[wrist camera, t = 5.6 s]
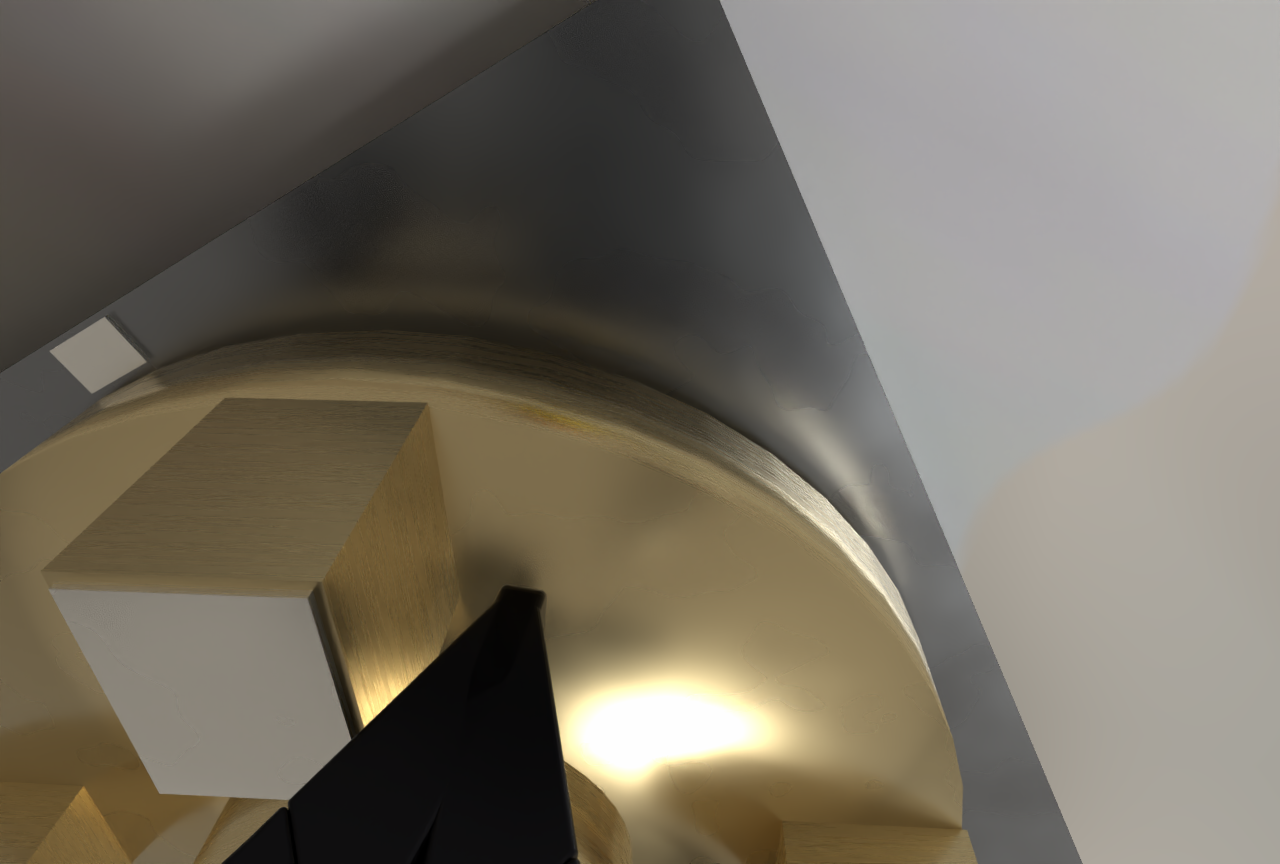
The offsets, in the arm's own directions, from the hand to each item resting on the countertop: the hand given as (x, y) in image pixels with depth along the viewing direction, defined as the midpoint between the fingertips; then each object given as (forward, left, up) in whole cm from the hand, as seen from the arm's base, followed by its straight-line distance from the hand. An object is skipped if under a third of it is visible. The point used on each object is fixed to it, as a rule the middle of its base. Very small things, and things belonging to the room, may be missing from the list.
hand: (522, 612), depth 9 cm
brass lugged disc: (-5, +5, -3) cm, 8 cm away
